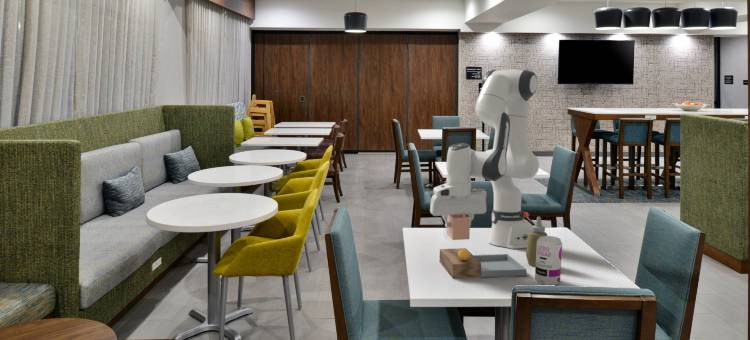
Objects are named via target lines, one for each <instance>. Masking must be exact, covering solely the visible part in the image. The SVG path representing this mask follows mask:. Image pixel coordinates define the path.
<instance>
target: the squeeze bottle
mask: <svg viewBox="0 0 750 340" xmlns="http://www.w3.org/2000/svg"><path fill="white" fill-rule="evenodd" d="M541 236H548V233H547V232H546V226H544V225H543V222H542V218H541V216H537V217H536V221H535V224H533V226H532V231H531V232H529V237H528V244H527V248H526V251H525V252H526V253H525V257H526V260H527V264H528V265H530V266H532V267H536V249H537V241H538V239H539V237H541Z"/></svg>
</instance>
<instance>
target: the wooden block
mask: <svg viewBox="0 0 750 340" xmlns="http://www.w3.org/2000/svg"><path fill="white" fill-rule="evenodd" d="M461 249H466V250H468V249H467V248H466V247H465V248H461V247H459V248H439V263H440V265H441V266H442V267H443V268H444V269H445V271H446V272H447V274H448V275H449V276H450V277H451V278H452V279H469V278H470V279H471V278H472V279H473V278H481V262H480V261H478V260H477V259H476V258H475V257H474V256H473V255H474V254H473V253H471V252H470V251H469V253H470V257H469V258H468V259H467V260H461V259H460V258H459V256H458V253H459V251H460V250H461Z"/></svg>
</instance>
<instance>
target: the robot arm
mask: <svg viewBox="0 0 750 340" xmlns="http://www.w3.org/2000/svg"><path fill="white" fill-rule="evenodd" d="M538 83H539V82H538V76H537V74H535V72H534V71H532V70H527V69H524V70H522V69H513V68H512V69H511V68H509V69H500V70H499V69H498V70H497V69H493V70H489V71H487V72H486V73H484V75H482V79H481V90H480V91H479V94H478V97H477V100H476V103H475V107H474V108H475V109H474V110H475V114H476V116H477V118H478V119H479V120H480V121H481V122H482V123H484V124H485V125H486V126H487V125H488V126H489V127H491V128H493V129H494V130H495V131H494V139H493V145H492V146H493V147H492V149H487V150H485V151H479V150H474V149H472V148H471V146H470V144H469V143H465V142H459V143H454V144H451V145H450V146H449V147H448V150H447V154H446V173H447V174H446V175H447V177H446V183H443V184H440V185H437V186H434V187H433V193H434V194H432V196H431V199H430V204H429V205H430V206H429V207H430V208H429V212H430V214H431V215H432V216H433V217H439V216H440V217H442V219H443V221H444V222H445V225H444V226H445V228H447V227H450V222H449V221H447V218H448V215H467V216H469V217H470V227H472V221H473V219H474V218H475V215H484V214H486V212H487V201H486V199H487V191H486V190H485V189H484V188H482V187H479V188H476V187H475V188H472V178H475V179H476V178H478V179H484V180H487V181H490V183H491V185H492V191H493V208H491V210H492V211H491V229H490V234H489V237H488V243H489V244H491V245H493V246H496V247H502V248H503V247H504V248H508V249H511V250H513V249H514V250H515V249H527V244H528V237H529V232H531V231H532V226H534V224H533V225H532V223H530V222H529V221H528V220H526V219H525V218H529V216H530V214H529V212H527V211H524V210H522V205H521V204H522V192H521V189H519V187H518V186H516V184H515V183H514V181H513V179H512V178H514V179H520V180H523V179H524V180H525V179H532V178H534V177H535V176H536V175H537V174H538V172H539V167H540V166H539V165H540V162H539V159H538V157H537V156H536V155H535V154H534V153H533V151H532V150H531V148H530V145H529V141H528V125H529V124H528V123H529V116H530V98H532V97H533V96H534V94H535V93H536V92H537V90H538V89H537V88H538ZM471 177H472V178H471Z"/></svg>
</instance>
